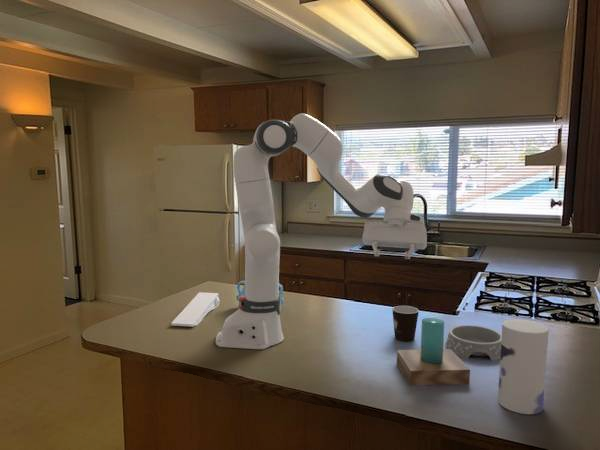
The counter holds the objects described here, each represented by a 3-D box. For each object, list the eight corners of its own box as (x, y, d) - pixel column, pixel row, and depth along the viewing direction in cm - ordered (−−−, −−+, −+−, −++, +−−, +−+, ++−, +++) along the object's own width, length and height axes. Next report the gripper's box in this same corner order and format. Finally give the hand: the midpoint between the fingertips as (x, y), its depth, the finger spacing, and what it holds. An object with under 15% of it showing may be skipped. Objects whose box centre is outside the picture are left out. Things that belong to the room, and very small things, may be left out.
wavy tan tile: (410, 385, 125) (410, 370, 124) (396, 363, 139) (397, 350, 138) (469, 384, 125) (470, 369, 125) (450, 362, 139) (450, 349, 139)
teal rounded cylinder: (424, 364, 128) (425, 325, 127) (417, 355, 134) (419, 317, 133) (445, 363, 129) (447, 324, 127) (438, 354, 135) (440, 317, 133)
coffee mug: (418, 344, 153) (419, 314, 152) (391, 342, 155) (392, 312, 154) (416, 331, 165) (417, 304, 163) (391, 330, 166) (392, 302, 165)
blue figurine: (271, 301, 201) (271, 270, 199) (286, 312, 186) (286, 278, 185) (234, 306, 194) (234, 273, 192) (247, 317, 179) (246, 282, 178)
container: (490, 395, 119) (494, 318, 117) (527, 393, 120) (533, 317, 118) (511, 416, 110) (516, 333, 107) (551, 414, 110) (558, 332, 108)
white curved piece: (194, 343, 169) (219, 309, 196) (197, 325, 167) (222, 294, 193) (168, 335, 170) (196, 303, 196) (171, 317, 168) (199, 287, 194)
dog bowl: (512, 363, 140) (513, 345, 139) (447, 358, 143) (448, 341, 142) (499, 342, 156) (500, 326, 156) (442, 337, 160) (443, 322, 159)
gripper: (364, 213, 155) (357, 247, 147) (428, 217, 149) (425, 253, 141) (366, 225, 160) (359, 259, 152) (428, 230, 154) (425, 265, 146)
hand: (391, 256), depth 146 cm, fingers open, 8 cm apart
